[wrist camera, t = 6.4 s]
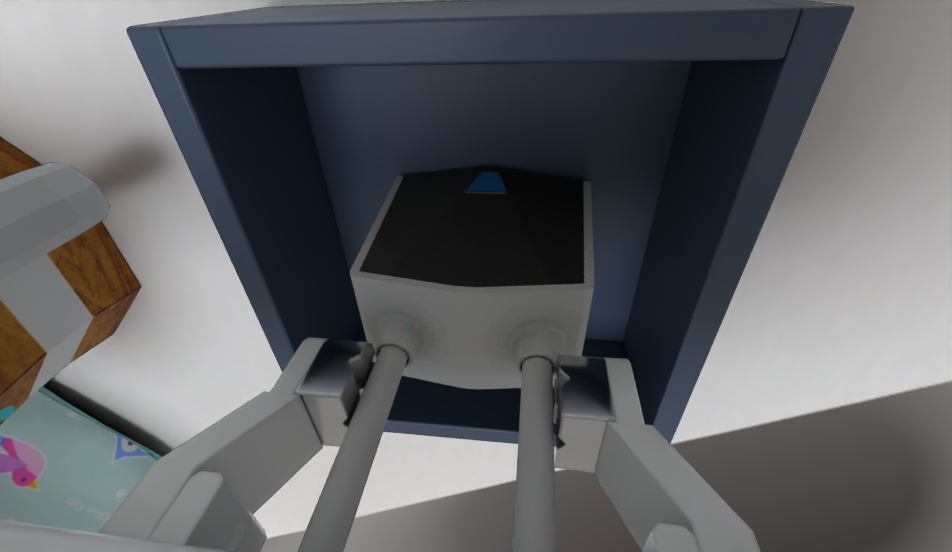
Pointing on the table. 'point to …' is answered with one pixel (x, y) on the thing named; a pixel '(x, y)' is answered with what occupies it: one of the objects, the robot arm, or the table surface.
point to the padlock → (469, 320)
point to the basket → (498, 155)
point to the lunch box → (65, 466)
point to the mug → (53, 273)
